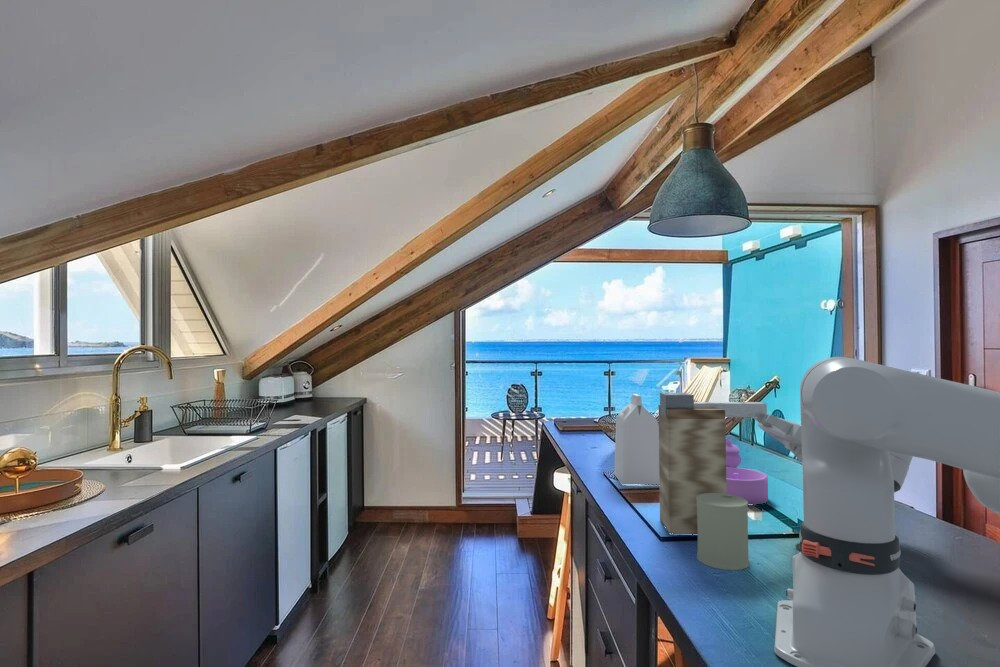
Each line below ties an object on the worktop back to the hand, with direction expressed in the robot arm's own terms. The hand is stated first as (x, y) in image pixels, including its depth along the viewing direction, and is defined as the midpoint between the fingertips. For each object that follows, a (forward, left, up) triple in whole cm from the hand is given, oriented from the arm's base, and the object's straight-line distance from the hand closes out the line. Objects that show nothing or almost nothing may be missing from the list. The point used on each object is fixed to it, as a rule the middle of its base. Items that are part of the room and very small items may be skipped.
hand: (758, 414), depth 118 cm
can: (-23, +1, -26) cm, 34 cm away
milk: (+22, +40, -26) cm, 52 cm away
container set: (+27, +14, -26) cm, 40 cm away
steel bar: (-6, +8, 0) cm, 10 cm away
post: (-9, +12, -25) cm, 29 cm away
